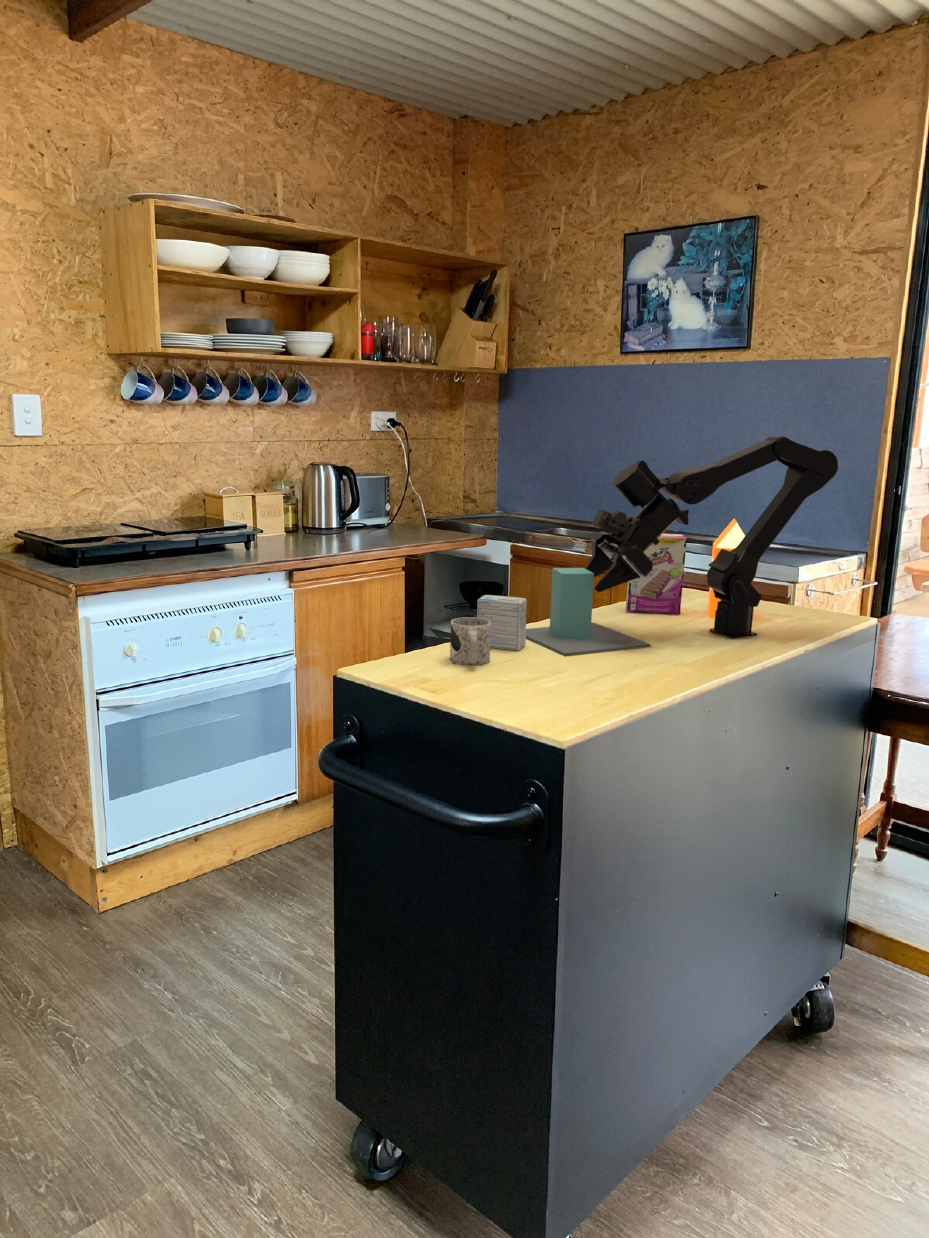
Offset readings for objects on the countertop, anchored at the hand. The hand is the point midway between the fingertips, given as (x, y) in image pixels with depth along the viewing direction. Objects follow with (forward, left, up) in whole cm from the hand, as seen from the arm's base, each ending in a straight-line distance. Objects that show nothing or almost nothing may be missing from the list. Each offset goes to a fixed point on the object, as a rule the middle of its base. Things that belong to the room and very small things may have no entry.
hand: (588, 585), depth 170 cm
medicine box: (+18, 0, -10) cm, 20 cm away
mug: (+28, +8, -10) cm, 31 cm away
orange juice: (-39, -6, -10) cm, 41 cm away
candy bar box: (-26, -14, -10) cm, 31 cm away
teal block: (+3, -1, -9) cm, 10 cm away
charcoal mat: (+2, +1, -10) cm, 10 cm away
